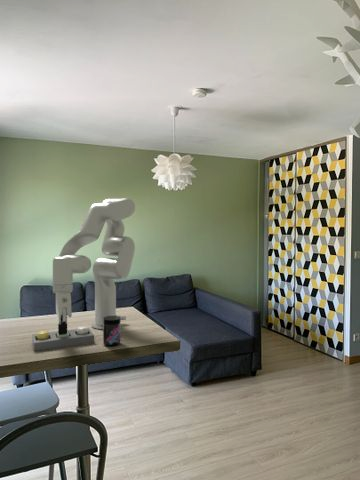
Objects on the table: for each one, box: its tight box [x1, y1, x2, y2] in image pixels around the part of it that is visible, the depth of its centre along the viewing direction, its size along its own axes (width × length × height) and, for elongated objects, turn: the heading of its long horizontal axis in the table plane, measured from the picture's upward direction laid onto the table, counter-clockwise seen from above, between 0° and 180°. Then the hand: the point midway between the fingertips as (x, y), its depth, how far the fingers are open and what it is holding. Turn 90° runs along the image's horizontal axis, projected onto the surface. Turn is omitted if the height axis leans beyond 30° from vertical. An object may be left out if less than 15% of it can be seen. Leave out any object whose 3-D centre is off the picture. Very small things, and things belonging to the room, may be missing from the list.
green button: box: [57, 332, 69, 338], centre depth 138 cm, size 4×4×2 cm
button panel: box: [31, 327, 95, 352], centre depth 138 cm, size 22×11×3 cm, turn 116°
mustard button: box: [36, 330, 49, 340], centre depth 135 cm, size 4×4×2 cm
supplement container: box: [102, 315, 122, 348], centre depth 136 cm, size 7×7×10 cm
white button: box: [76, 326, 89, 335], centre depth 141 cm, size 4×4×2 cm
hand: (62, 333), depth 138 cm, fingers closed
